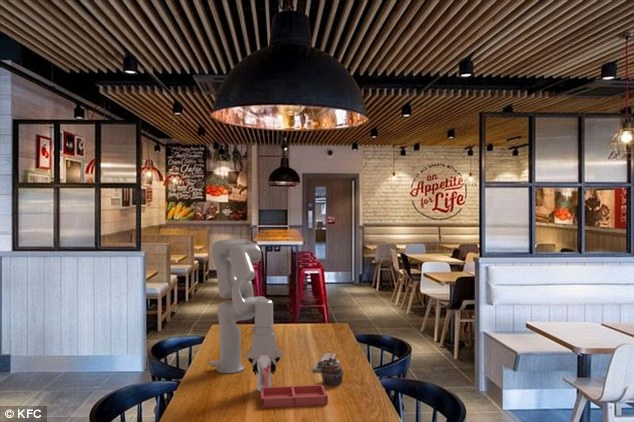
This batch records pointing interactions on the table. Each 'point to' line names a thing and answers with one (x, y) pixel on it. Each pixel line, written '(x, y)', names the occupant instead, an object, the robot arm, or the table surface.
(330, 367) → the cupcake
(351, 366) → the table surface
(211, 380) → the table surface
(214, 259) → the robot arm
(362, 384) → the table surface
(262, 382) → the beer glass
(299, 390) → the tray
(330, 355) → the packaged product
